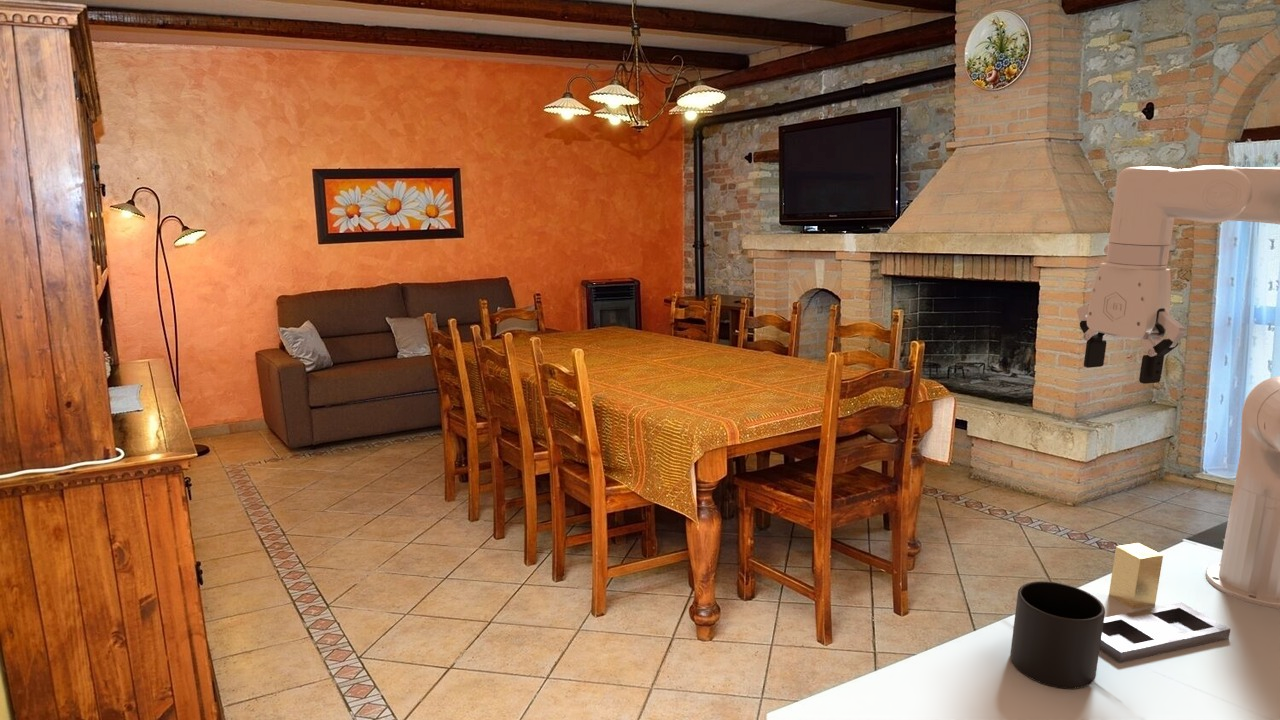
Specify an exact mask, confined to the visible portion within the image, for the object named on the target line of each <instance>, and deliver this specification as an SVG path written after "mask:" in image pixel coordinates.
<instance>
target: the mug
mask: <svg viewBox="0 0 1280 720" xmlns="http://www.w3.org/2000/svg"><path fill="white" fill-rule="evenodd" d="M1014 613H1015V614H1014V622H1013V630H1012V638H1011V647H1010V653H1009V654H1010V659H1011V662H1012V663H1013V665H1014V667H1015V668H1016V669H1017V670H1018V671H1019V672H1020V673H1021V674H1023V675H1025V676H1026V677H1027V678H1030V679H1031V680H1034V681H1036V682H1038V683H1040V684H1043V685H1047V686H1051V687H1055V688H1059V689H1080V688H1084V687H1087V686H1089V685H1091V684H1092V683H1093V682H1094V679H1095V678H1096V676H1097V667H1098V662H1099V655H1100V643H1101V636H1102V629H1103V623H1104V618H1105V617H1106V616H1105V615H1106V608H1105V606H1104V604H1103V602H1102V601H1101V600H1099V599H1098V598H1097V597H1096V596H1094V595H1093V594H1091V593H1089V592H1087V591H1085V590H1083V589H1081V588H1078V587H1075V586H1072V585H1069V584H1066V583H1065V584H1064V583H1061V582H1055V581H1046V580H1045V581H1032V582H1031V581H1030V582H1027V583H1024V584H1023V585H1021V586H1020V587H1019V588H1018V591H1017V597H1016V605H1015V612H1014Z"/></svg>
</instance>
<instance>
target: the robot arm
mask: <svg viewBox="0 0 1280 720" xmlns="http://www.w3.org/2000/svg"><path fill="white" fill-rule="evenodd" d="M1114 192H1115V193H1114V199H1113V205H1112V206H1113V207H1112V215H1111V220H1110V228H1109V237H1108V243H1107V245H1105V246H1104V249H1103V252H1104V254H1105V255H1106V259H1105V262H1102V263H1101V264H1100V266H1099V267H1098V271H1097V273H1096V275H1095V279H1094V283H1093V286H1092V290H1091V294H1090V298H1089V299H1090V300H1089V303H1087V304H1085V305H1083V306H1080V307H1078V308H1077V309H1076V312H1077V313H1076V314H1077V318H1078V321H1079V327H1080V329H1081V331H1082V333H1083V340H1084V341H1086V346H1085V353H1084V360H1083V367H1084V368H1088V369H1089V368H1099V367H1100V368H1101V367H1104V364H1105V357H1106V349H1107V340H1106V339H1104V338H1105V337H1106V336H1107V335H1108V336H1113V337H1118V338H1121V339H1126V340H1131V341H1140V342H1141V344H1142V346H1143V348H1144V350H1145V351H1146V353H1147V354H1143V356H1142V357H1141V364H1140V369H1139V371H1140V372H1139V379H1138V381H1139V383H1140V384H1143V385H1144V384H1145V385H1146V384H1157V383H1160V381H1161V377H1162V373H1163V372H1162V371H1163V367H1164V360H1165V356H1169V354H1170V353H1171V351H1173V350H1174V349H1175V348H1177V347H1178V346H1179V342H1180V341H1181V340H1182V338H1183V337H1184V336H1185V334H1186V332H1187V328H1186V327H1185V326H1183V325H1182V324H1181V323H1180V322H1179V321H1177V320H1176V319H1175V318H1174V317H1173V316H1172V315H1170V313H1171V302H1172V300H1171V299H1172V282H1171V281H1172V280H1171V278H1172V277H1171V269H1170V268H1168V262H1169V256H1170V249H1171V243H1172V236H1173V230H1174V222H1175V219H1179V220H1185V221H1193V222H1199V223H1206V224H1219V223H1223V222H1227V221H1230V222H1231V221H1232V222H1233V221H1234V222H1249V223H1260V224H1262V223H1263V224H1275V225H1280V167H1247V166H1246V167H1242V166H1241V167H1240V166H1236V167H1235V166H1228V165H1227V166H1226V165H1215V164H1212V165H1211V164H1209V165H1208V164H1207V165H1205V164H1204V165H1196V166H1192V167H1190V168H1182V169H1181V168H1179V169H1177V168H1173V167H1170V166H1169V167H1168V166H1130V167H1126V168H1124V169H1122V170H1121V171H1120V172H1119V174H1118V176H1117V180H1116V185H1115V191H1114ZM1166 333H1167V335H1166ZM1165 335H1166V338H1165ZM1237 465H1238V466H1237V470H1236V477H1235V481H1234V486H1233V491H1232V496H1231V502H1230V507H1229V512H1228V519H1227V525H1226V530H1225V535H1224V541H1223V548H1222V552H1221V557H1220V562H1218V563H1214V564H1211V565H1209V566H1208V567H1206V570H1205V575H1204V576H1205V579H1206V580H1207V581H1208V582H1209V584H1210V585H1212V586H1213V587H1214V588H1216V589H1217V590H1219V591H1220V592H1223V593H1224V594H1227V595H1228V596H1231V597H1233V598H1236V599H1238V600H1242V601H1244V602H1247V603H1249V604H1253V605H1258V606H1263V607H1268V608H1274V609H1280V375H1279V376H1273V377H1270V378H1267V379H1266V380H1263V381H1261V382H1260V383H1258V384H1257V385H1256V386H1254V387H1253V389H1251V390H1250V392H1249V393H1248V395H1247V397H1246V399H1245V401H1244V403H1243V408H1242V413H1241V431H1240V449H1239V458H1238V464H1237Z"/></svg>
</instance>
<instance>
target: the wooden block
mask: <svg viewBox="0 0 1280 720" xmlns="http://www.w3.org/2000/svg"><path fill="white" fill-rule="evenodd" d="M1163 559H1164V555H1163V554H1162V553H1160V552H1158V551H1156V550H1153V549H1152V548H1150V547H1148V546H1146V545H1144V544H1142V543H1140V542H1136V543H1135V542H1134V543H1130V544H1129V543H1128V544H1122V545H1116V546H1115V552H1114V557H1113V564H1112V570H1111V571H1112V573H1111V578H1110V579H1111V580H1110V584H1109V591H1108V592H1109V593H1108V595H1109V596H1110V597H1113V598H1114V599H1116V600H1118V601H1119V602H1121V603H1123V604H1125V605H1126V606H1127V607H1129V608H1131V609H1136V608H1137V609H1138V608H1141V607H1147V606H1152V605H1155V604H1156V600H1157V596H1158V589H1159V583H1160V577H1161V573H1162V572H1161V569H1162V565H1163Z"/></svg>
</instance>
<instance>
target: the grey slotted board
mask: <svg viewBox="0 0 1280 720" xmlns="http://www.w3.org/2000/svg"><path fill="white" fill-rule="evenodd" d="M1230 634H1231V628H1229V627H1228V626H1226V625H1224V624H1222V623H1220V622H1218V621H1217V620H1215V619H1212V618H1210V617H1209V616H1207V615H1205V614H1204V613H1202V612H1199V611H1198V610H1196V609H1194V608H1192V607H1190V606H1189V605H1187V604H1185V603H1183V602H1177V603H1172V604H1167V605H1163V606H1157V607H1151V608H1146V609H1142V610H1137V611H1132V612H1127V613H1121V614H1116V615H1110V616H1104V623H1103V629H1102V636H1101V643H1100V650H1099V652H1100V651H1101V652H1102V653H1104V654H1105V655H1107V656H1108V657H1109V658H1111V659H1112V660H1115V661H1116V662H1117V663H1119V664H1122V663H1126V662H1132V661H1136V660H1141V659H1145V658H1150V657H1153V656H1158V655H1159V656H1160V655H1163V654H1168V653H1173V652H1177V651H1181V650H1186V649H1190V648H1196V647H1200V646H1204V645H1208V644H1213V643H1218V642H1222V641H1227V640H1229V638H1230Z"/></svg>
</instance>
